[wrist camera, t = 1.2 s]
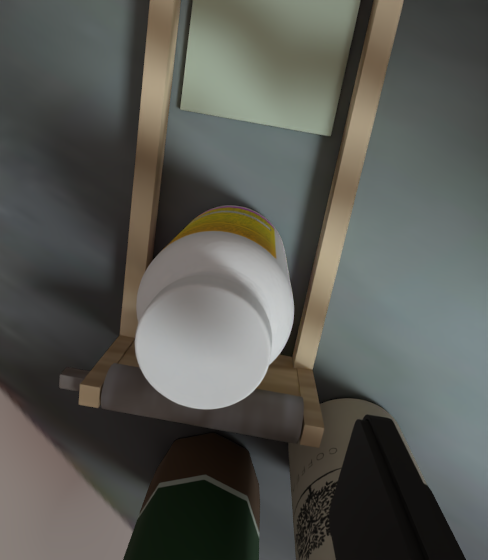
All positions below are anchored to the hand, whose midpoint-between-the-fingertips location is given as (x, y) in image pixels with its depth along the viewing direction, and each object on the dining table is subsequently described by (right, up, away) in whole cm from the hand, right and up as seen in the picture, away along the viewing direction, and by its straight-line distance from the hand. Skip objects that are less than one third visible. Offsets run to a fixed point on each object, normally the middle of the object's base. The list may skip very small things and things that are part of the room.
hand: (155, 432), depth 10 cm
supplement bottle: (+1, +5, +17) cm, 18 cm away
